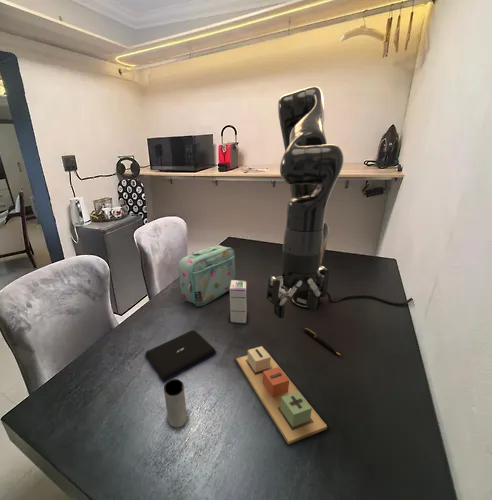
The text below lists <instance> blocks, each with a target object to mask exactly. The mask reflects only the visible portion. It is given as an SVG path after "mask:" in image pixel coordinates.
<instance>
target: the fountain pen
mask: <svg viewBox="0 0 492 500" xmlns="http://www.w3.org/2000/svg"><path fill="white" fill-rule="evenodd" d="M303 330H304V332H306V333H307V334H308V335H309V336H310V337H312V338H313V339H314V340H316V341H318V342H319V343H320V344H321V345H323V346H324V347H326V348H327V349H329V350H330V351H331V352H333V353H334V354H337V355H338V356H341V353H339V351H338V350H337V349H335V348H334V347H332V346H331V345H330V344H329V343H327V342H326V341H324V339H322V338H321V337H319V335H317V333H316V332H314V331H312V330H311V329H309V328H308V327H303Z"/></svg>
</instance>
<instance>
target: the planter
mask: <svg viewBox="0 0 492 500" xmlns="http://www.w3.org/2000/svg"><path fill="white" fill-rule="evenodd" d="M163 393H164V400H165V409H166V414H167V415H166V416H167V421H168V424H169V425H170V426H171V427H172V428H176V429H177V428H181V427H183V426H184V425H185V424H186V422H187V420H188V415H187V404H186V394H185V385H184V382H182V380H180V379H179V378H172V379H171V378H170V379H168V380H167V381H166V383H165V384H164V385H163Z"/></svg>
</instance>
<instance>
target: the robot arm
mask: <svg viewBox="0 0 492 500" xmlns="http://www.w3.org/2000/svg"><path fill="white" fill-rule="evenodd" d="M323 94H324V93H323V91H322V89H321V88H320V87H319V86H309V87H306V88H302V89H299V90H296V91H293V92H289V93H286V94H284V95H282V96H280V97H279V99H278V102H277V113H278V115H277V116H278V121H279V127H280V131H281V136H282V142H283V147H284V152H283V155H282V157H281V161H280V165H279V173H280V177H281V179H282V180H283V181H284V182H285V183H286V184H288V189H289V194H290V199H289V201H288V203H287V207H286V219H285V220H286V221H285V230H284V234H283V241H282V242H283V243H282V255H281V256H282V257H281V267H282V273H281V275H280V276H274V275H273V274H271V275H269V277H268V281H267V289H266V300H267V301H269V302H270V303H271V304H272V305H273V313H274V314H275V315H276V317H277V318H278V319H280V320H281V319H284V317H285V307H286V306H285V303H286V302H287V300H289V299H291V301H292V303H293V304H294V305H296V306H297V307H299V308H304V309H309V310H310V311H315V310H316V309H317V306H318V304H320V303H321V298H326V295H327V297H328V301H329V302H331V303H336V302H341V301H343V300H345V299H349V298H371V299H375V300H378V301H381V302H384V303H387V304H390V305H396V306H404V305H408V304H409V303H411V302H412V301H414V300H413V299H412V297H410V298H408V299H407V300H405V301H401V302H397V301H391V300H388V299H385V298H382V297H379V296H375V295H371V294H364V293H363V294H362V293H361V294H360V293H358V294H348V295H344V296H341V297H339V298H337V299H332V296H331V293H329V292H328V289H329V280H330V279H329V277H330V270H329V269H328V268H326V267H325V266H323V265H324V258H325V255H326V248H327V244H328V239H329V233H330V227H329V224H328V223H327V222H325V218H326V210H327V206H328V203H329V199H330V197H331V194H332V191H333V189H334V188H335V185H336V183H337V181H338V179H339V176H340V174H341V172H342V169H343V166H344V162H345V160H344V153H343V150H342V149H341V147H339V145H337V144H332V143H327V142H328V141H327V137H326V132H325V130H324V123H325V100H324V99H325V98H324V95H323ZM286 289H287V290H286Z"/></svg>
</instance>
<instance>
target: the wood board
mask: <svg viewBox="0 0 492 500" xmlns="http://www.w3.org/2000/svg"><path fill="white" fill-rule="evenodd" d="M264 350H265V351H266V352H267V353H268V355H269V356H270V357H271V358H270V368H268V369H265V370H262V371H259V372H255V371H254V370H253V368H252V367H251V365H250V364H249V362H248V361H247V358H248V354H247V355H244V356H243V355H242V356H239V357H236V358H235V362H236V363H237V366H238V367H239V368H240V369H241V372H242V373H243V375H244V376H245V378H246V379H247V381H248V382H249V384H250V386H251V387H252V390H254V392H255V394H256V395H257V397H258V399H259V400H260V403H262V405H263V407H264V408H265V410H266V412H267V413H268V415H269V417H270V418H271V419H272V421H273V422H274V424H275V426H276V427H277V429H278V430H279V433H280V434H281V435H282V437H283V439H284V441H285V442H286V444H287V445H290V444H293V443H296V442H299V441H301V440H303V439H305V438H308V437H311V436H314V435H315V434H318V433H320V432H323V431H326V430H327V429H328V426H327V424H326V423H325V422H324V420H323V419H322V418H321V417H320V415H319V414H318V413H317V411H316V410H315V409H314V408H313V407H312V405H311V404H310V403H309V402H308V401H307V399H306V398H305V397H304V396H303V394H302V393H301V392H300V391H299V389H298V388H297V387H296V385H295V384H294V383H293V381H291V379H290V378H289V377H288V376H287V374H286V373H285V372H284V371H283V369H282V368H281V367H280V366H279V364H278V363H277V362H276V361H275V360H274V358H273V357H272V356H271V354H270V353H269V352H268V351H267V350H266V349H264ZM276 367H279V368H280V369H281V371H282V372H283V373H284V374H285V376H286V377H287V378H288V379H289V388H288V392H286V393H283V394H280V395H277V396H275V397H272V396H271V395H270V393H269V392H268V390H267V389H266V387H265V386H264V384H263V371H266V370H270V369H273V368H276ZM297 391H298V392H299V393H300V394H301V395H302V397H303V398H304V399H305V400H306V402H307V403H308V404H309V405H310V407H311V408H312V410H311V416H310V421H307V422H305V423H302V424H299V425H297V426H294V427H292V426H291V424H290V423H289V421H288V420H287V418H286V417H285V415H284V414H283V412H282V411H281V409H280V406H281V397H283V396H285V395H288V394H291V393H294V392H297Z"/></svg>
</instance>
